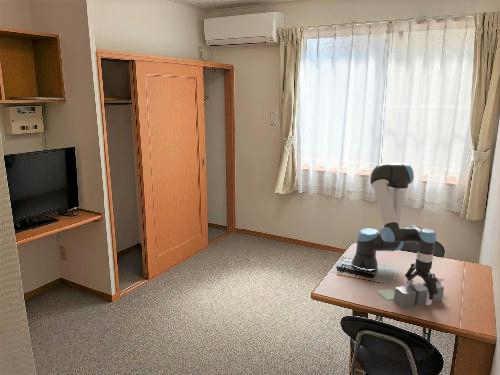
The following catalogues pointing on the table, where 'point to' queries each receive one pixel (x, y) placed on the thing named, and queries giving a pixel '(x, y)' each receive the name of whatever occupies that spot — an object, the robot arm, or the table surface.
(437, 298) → the grey cube
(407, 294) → the grey block
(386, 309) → the table surface
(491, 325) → the table surface
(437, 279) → the bull figurine
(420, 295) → the grey box
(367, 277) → the table surface
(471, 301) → the table surface
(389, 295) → the mat
